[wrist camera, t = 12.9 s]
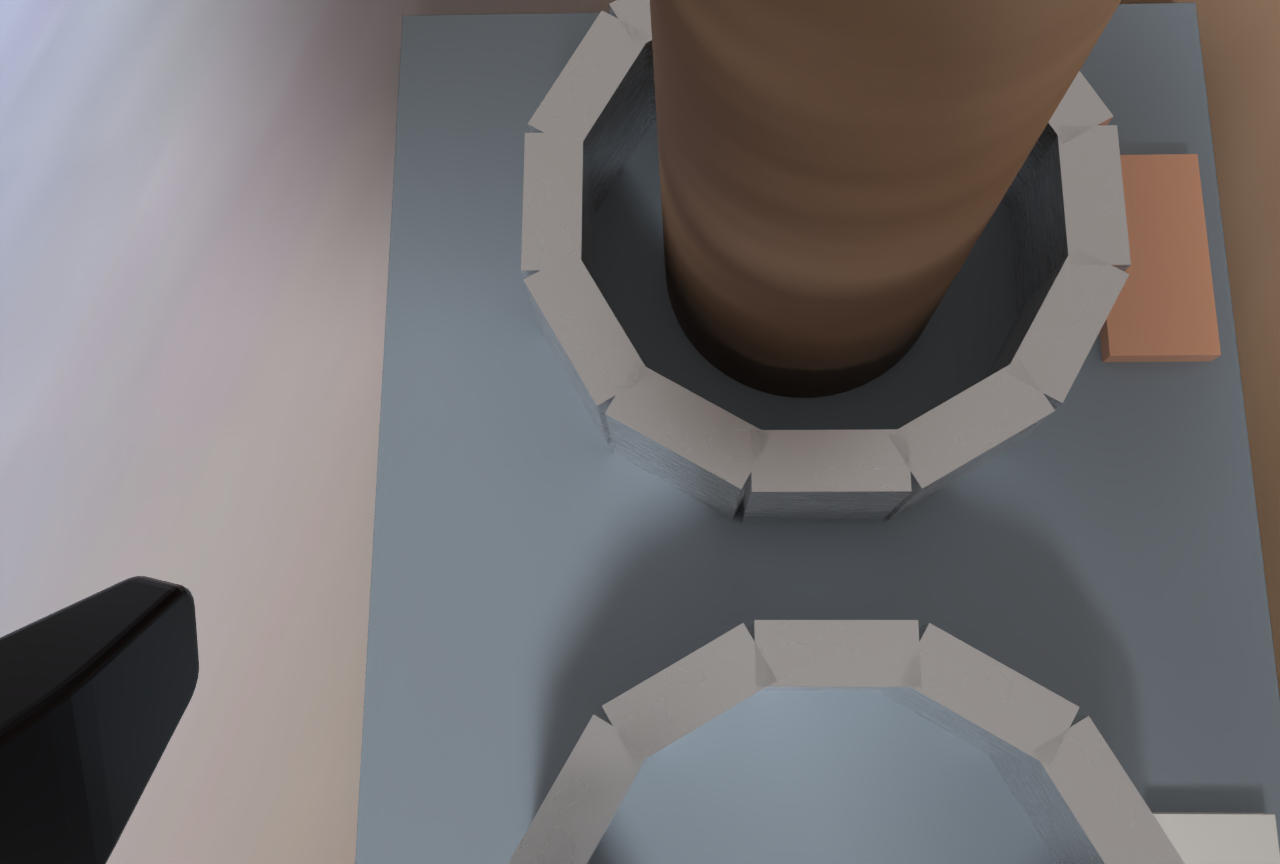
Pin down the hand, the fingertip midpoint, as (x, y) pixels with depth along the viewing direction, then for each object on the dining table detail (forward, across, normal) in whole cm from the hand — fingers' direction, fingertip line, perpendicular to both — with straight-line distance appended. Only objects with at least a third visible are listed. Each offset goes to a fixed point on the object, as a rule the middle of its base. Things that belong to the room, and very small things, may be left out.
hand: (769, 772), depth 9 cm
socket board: (+12, -1, +7) cm, 14 cm away
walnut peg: (+15, 0, +2) cm, 15 cm away
